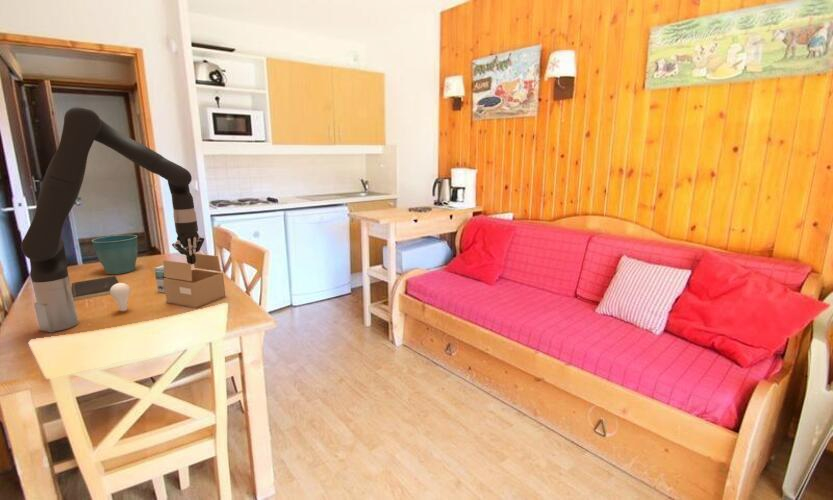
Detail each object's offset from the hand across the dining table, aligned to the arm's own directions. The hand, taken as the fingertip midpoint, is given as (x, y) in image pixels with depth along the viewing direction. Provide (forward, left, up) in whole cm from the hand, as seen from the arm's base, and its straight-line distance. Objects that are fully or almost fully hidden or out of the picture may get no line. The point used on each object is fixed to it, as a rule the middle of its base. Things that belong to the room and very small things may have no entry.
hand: (192, 263), depth 160 cm
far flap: (+6, 0, -1) cm, 6 cm away
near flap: (-6, 0, -1) cm, 6 cm away
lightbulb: (-19, +15, -15) cm, 29 cm away
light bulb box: (+6, +21, -15) cm, 27 cm away
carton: (0, 0, -15) cm, 15 cm away
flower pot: (+15, +70, -15) cm, 73 cm away
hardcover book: (-7, +52, -16) cm, 55 cm away
